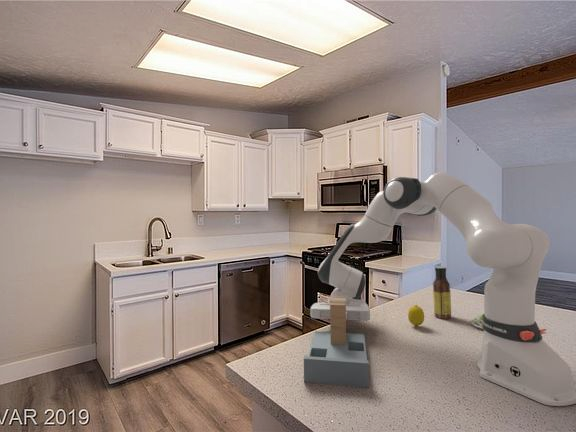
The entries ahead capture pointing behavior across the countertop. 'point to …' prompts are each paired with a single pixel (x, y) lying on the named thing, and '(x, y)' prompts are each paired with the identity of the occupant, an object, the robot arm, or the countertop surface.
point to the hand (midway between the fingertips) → (339, 319)
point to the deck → (337, 361)
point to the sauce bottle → (441, 294)
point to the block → (338, 321)
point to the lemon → (416, 315)
